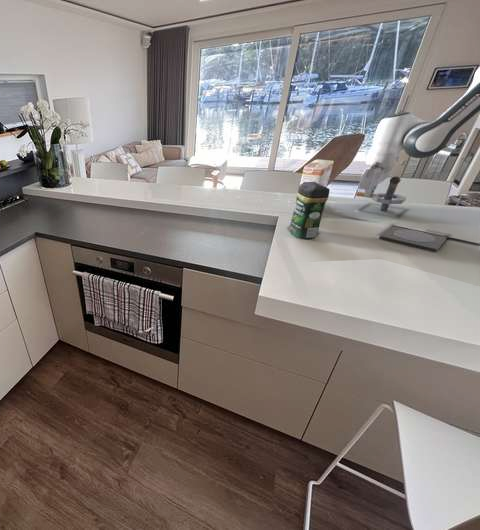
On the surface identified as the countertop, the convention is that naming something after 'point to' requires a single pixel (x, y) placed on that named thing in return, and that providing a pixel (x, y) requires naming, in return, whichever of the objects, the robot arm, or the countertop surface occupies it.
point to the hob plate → (414, 238)
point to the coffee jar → (308, 210)
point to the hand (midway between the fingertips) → (368, 195)
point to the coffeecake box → (317, 172)
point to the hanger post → (390, 192)
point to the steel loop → (380, 198)
